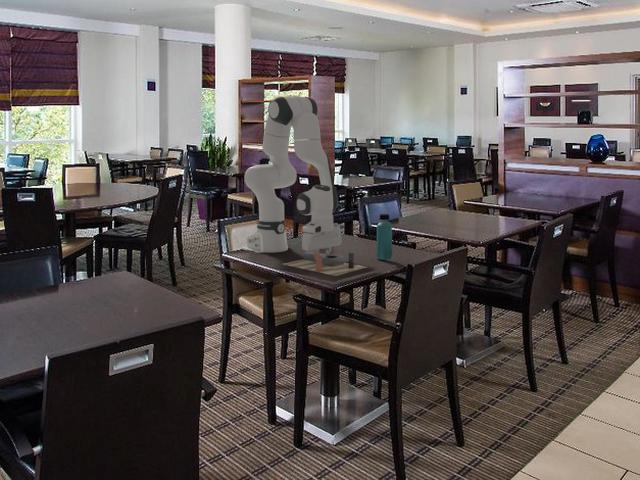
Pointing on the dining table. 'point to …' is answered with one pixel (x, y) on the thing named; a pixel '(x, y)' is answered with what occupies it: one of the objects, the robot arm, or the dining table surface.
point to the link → (325, 259)
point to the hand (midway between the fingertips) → (322, 259)
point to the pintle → (351, 260)
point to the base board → (324, 267)
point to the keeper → (318, 262)
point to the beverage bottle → (384, 238)
